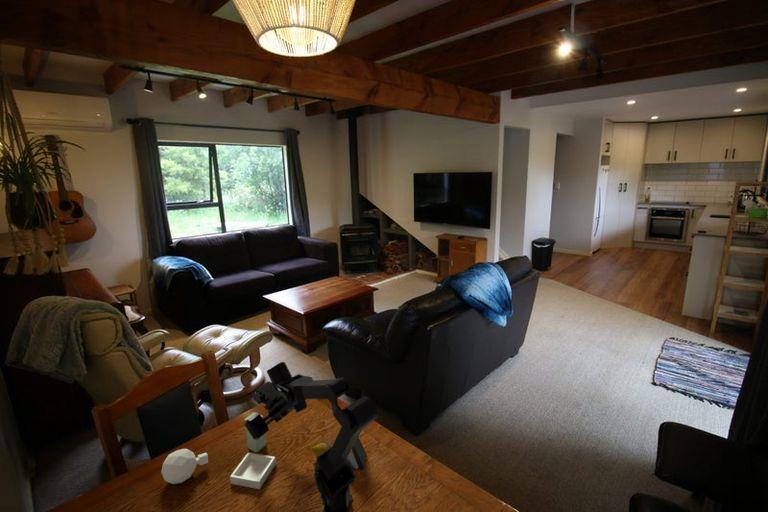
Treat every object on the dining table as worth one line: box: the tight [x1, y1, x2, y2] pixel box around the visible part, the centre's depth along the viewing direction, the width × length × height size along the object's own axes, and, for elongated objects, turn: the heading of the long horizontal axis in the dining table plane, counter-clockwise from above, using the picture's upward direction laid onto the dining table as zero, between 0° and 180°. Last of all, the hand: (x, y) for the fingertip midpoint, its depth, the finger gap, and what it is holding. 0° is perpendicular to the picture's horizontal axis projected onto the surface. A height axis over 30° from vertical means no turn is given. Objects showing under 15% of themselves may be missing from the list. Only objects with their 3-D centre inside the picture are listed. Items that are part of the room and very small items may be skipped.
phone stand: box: [347, 437, 367, 471], centre depth 111 cm, size 9×6×12 cm, turn 88°
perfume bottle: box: [161, 448, 209, 485], centre depth 108 cm, size 9×9×12 cm
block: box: [243, 411, 267, 454], centre depth 118 cm, size 4×4×11 cm
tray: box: [229, 452, 277, 490], centre depth 109 cm, size 9×9×3 cm
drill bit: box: [309, 441, 332, 459], centre depth 113 cm, size 5×5×10 cm
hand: (263, 421), depth 115 cm, fingers open, 9 cm apart
